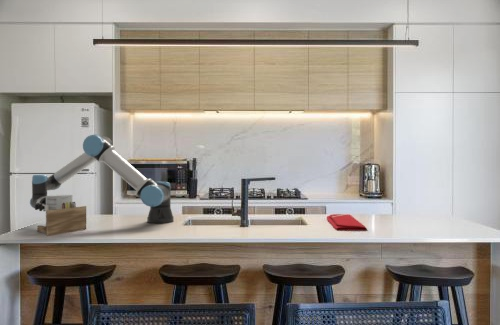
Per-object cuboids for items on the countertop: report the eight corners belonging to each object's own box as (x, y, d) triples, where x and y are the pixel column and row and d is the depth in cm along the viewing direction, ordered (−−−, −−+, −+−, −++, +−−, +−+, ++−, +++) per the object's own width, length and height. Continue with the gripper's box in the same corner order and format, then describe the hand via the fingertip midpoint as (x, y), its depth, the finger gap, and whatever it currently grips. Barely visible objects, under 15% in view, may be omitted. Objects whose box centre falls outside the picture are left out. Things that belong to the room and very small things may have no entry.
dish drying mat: (335, 231, 218) (335, 224, 218) (325, 220, 259) (325, 213, 259) (367, 231, 217) (367, 224, 217) (352, 220, 258) (352, 214, 258)
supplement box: (61, 229, 214) (61, 196, 214) (45, 229, 216) (44, 195, 216) (73, 226, 223) (72, 194, 223) (57, 226, 225) (57, 194, 225)
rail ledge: (86, 229, 223) (86, 206, 223) (48, 235, 204) (47, 210, 203) (67, 226, 230) (67, 204, 230) (28, 233, 211) (28, 208, 211)
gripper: (69, 208, 241) (85, 212, 226) (21, 212, 223) (35, 216, 208) (69, 195, 241) (85, 198, 226) (21, 198, 223) (35, 201, 208)
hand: (61, 207), depth 217 cm, fingers open, 13 cm apart
